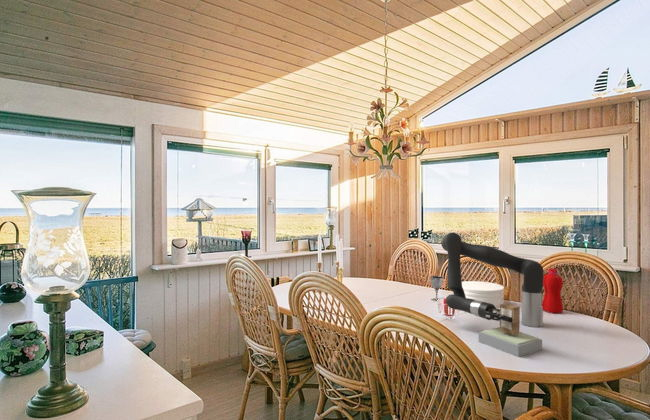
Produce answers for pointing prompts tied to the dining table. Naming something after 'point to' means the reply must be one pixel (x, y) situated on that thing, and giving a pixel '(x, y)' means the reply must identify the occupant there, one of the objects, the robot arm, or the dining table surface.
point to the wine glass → (436, 284)
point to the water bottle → (552, 292)
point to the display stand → (510, 342)
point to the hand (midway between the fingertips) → (514, 319)
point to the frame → (515, 314)
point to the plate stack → (484, 292)
